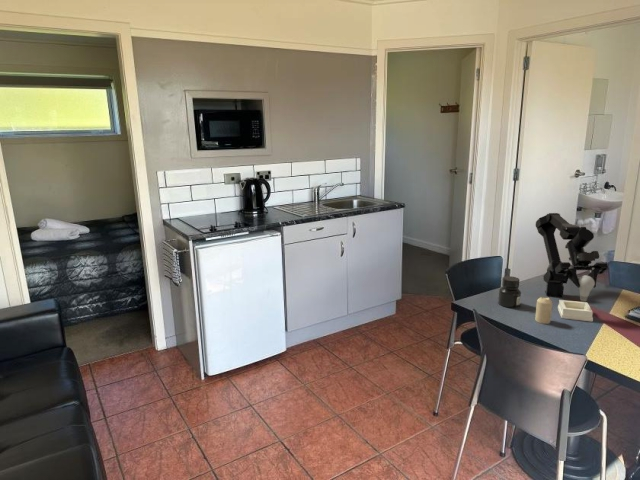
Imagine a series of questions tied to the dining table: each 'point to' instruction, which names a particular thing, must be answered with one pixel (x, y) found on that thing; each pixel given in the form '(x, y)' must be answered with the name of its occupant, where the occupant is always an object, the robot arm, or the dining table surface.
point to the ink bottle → (509, 292)
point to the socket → (575, 310)
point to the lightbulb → (585, 286)
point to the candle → (543, 310)
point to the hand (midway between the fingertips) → (586, 287)
